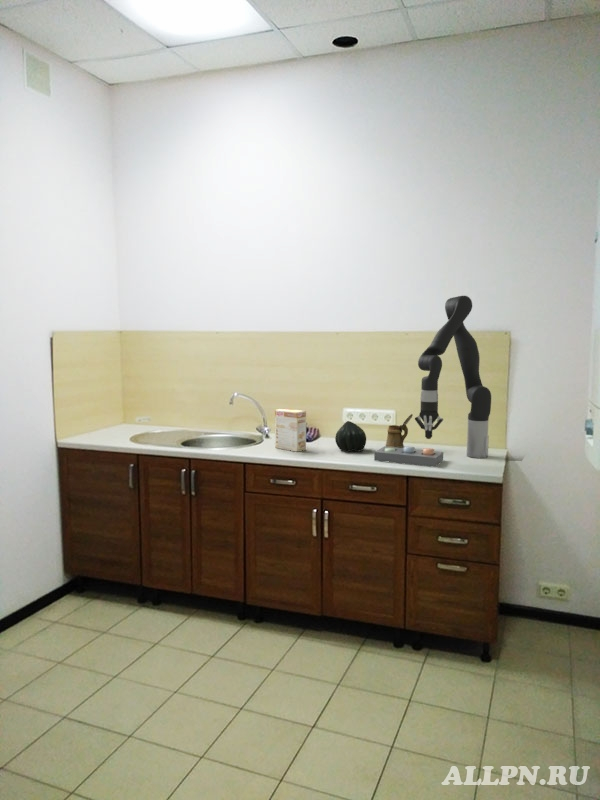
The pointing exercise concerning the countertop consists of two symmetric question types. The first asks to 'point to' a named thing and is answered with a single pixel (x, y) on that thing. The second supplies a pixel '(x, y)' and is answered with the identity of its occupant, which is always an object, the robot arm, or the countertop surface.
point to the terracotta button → (428, 451)
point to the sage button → (390, 449)
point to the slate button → (409, 449)
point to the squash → (350, 437)
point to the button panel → (408, 457)
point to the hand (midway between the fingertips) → (428, 438)
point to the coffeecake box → (290, 429)
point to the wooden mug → (397, 434)
